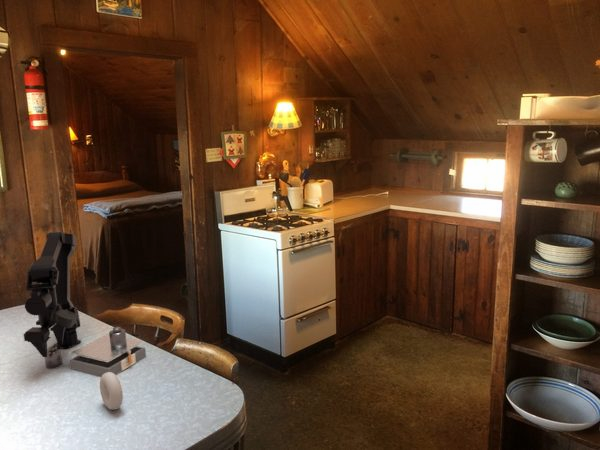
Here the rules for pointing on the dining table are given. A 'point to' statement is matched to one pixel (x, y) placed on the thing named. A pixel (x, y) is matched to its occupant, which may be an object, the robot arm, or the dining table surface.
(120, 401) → the donut
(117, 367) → the scale base
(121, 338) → the weight
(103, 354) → the scale pan
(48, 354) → the weight
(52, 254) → the robot arm
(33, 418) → the dining table surface
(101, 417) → the dining table surface
